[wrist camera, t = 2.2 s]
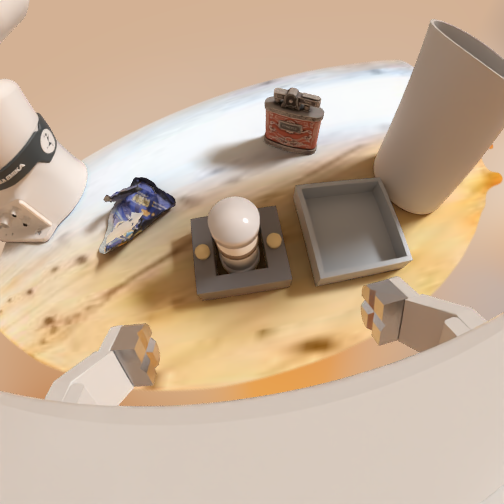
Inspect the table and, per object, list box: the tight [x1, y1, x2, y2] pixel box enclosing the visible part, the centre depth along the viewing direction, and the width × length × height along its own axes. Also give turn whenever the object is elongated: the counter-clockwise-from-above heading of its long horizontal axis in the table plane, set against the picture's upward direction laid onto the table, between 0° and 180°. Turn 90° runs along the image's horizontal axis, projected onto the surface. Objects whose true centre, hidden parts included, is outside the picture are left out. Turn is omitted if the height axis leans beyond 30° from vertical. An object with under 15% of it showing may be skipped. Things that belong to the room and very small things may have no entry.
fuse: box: [208, 197, 260, 274], centre depth 29 cm, size 5×5×10 cm
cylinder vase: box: [374, 19, 504, 214], centre depth 26 cm, size 12×12×25 cm
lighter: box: [264, 88, 324, 155], centre depth 36 cm, size 8×3×10 cm, turn 71°
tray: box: [293, 177, 413, 286], centre depth 33 cm, size 12×12×3 cm
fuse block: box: [191, 206, 292, 301], centre depth 32 cm, size 10×9×4 cm
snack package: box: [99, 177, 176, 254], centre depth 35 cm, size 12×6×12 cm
